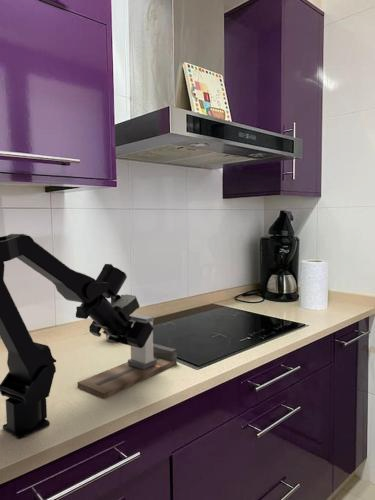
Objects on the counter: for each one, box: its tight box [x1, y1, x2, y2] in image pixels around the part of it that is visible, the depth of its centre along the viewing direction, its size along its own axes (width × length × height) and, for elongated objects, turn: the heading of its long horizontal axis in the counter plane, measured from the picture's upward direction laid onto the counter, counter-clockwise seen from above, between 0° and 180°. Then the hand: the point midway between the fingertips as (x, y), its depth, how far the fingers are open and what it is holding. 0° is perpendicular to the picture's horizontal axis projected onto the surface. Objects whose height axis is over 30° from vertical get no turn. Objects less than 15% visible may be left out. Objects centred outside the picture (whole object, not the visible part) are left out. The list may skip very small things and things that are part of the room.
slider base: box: [77, 342, 178, 399], centre depth 98 cm, size 26×10×4 cm, turn 142°
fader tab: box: [127, 313, 157, 369], centre depth 101 cm, size 5×6×13 cm
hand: (137, 345), depth 100 cm, fingers closed, pressing on fader tab
